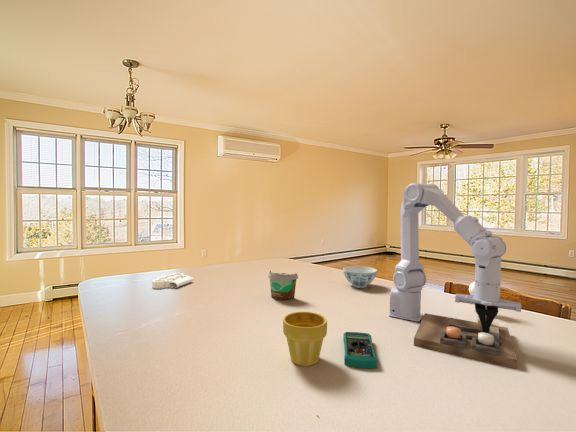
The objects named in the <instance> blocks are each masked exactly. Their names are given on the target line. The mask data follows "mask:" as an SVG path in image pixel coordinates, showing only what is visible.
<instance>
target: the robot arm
mask: <svg viewBox="0 0 576 432" xmlns="http://www.w3.org/2000/svg"><path fill="white" fill-rule="evenodd" d="M428 206H434V207H435V208H436V209H437V210H438V211H440V213H442V214H443V215H444V216H445V217H446V218H448V219H449V220H450V221H451V222H452V223H453V225H454V226H453V230H454V231H455V232H456V233H457V234H458V235H459V236H460V237H461V238H462V239H463V240H464V241H465V242H466V243H467V244H468V245H469V246H470V252H471V253H472V255H473V257H474V264H475V267H474V282H475V285H474V295H470V294H464V293H463V294H461V293H455V296H454V303H458V304H460V303H462V304H469V305H474V304H475V310H476V311H475V313H476V314H477V317H478V316H479V319H480V322H481V325H482V330H483V332H484V333H488V332H489V328H490V326H491V324H492V322H493V321H495V318H496V317H497V316H498V313H499V309H503V310H508V311H515V312H517V313H522V303H521V302H519V301H512V300H509V299H508V300H507V299H503V298H501V281H502V279H501V278H502V257H503V256H504V255H505V254H506V251H507V244H506V243H505V241H504V240H503V238H502V237H500V236H497V235H493V232H492V231H491V230H487V228H485V227H484V226H483V225H482V224H481V223H479V221H480V220H479V218H478V217H476V216H474V217H473V216H472V215H465V214H463V212H461V210H460V209H459V208H458V207H457V206H456V205H455V204H454V202H452V200H450V199H449V197H448V196H446V194H445V193H444V191H443V189H441V188H439V186H437V185H436V184H434V183H419V182H411V183H409V184H408V185H407V186H406V187H405V188H404V189H403V190H402V202H401V205H400V211H399V213H400V216H399V217H400V261H399V262H398V263H397V264H396V265H395V267H394V273H393V276H392V282H393V284H394V287H391V290H390V295H389V315H388V316H389V317H392V318H398V319H402V320H408V321H413V322H420V323H421V321H422V319H423V317H424V313H423V312H421V307H422V306H421V303H422V302H421V301H422V290H423V287H424V286H425V285H426V284H427V275H426V273H425V271H424V270H425V269H424V267H425V266H424V265H423V263H422V262H421V261H420V257H419V256H420V254H419V253H420V252H419V249H420V244H419V242H420V241H419V213H420V212H422V211H423V209H424V208H427V207H428Z"/></svg>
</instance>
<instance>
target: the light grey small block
mask: <svg viewBox="0 0 576 432" xmlns="http://www.w3.org/2000/svg"><path fill="white" fill-rule="evenodd" d="M489 334H491V335H493V336H494V340H499V329H498V328H497V327H492V326H490V328H489Z"/></svg>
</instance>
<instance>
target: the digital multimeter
mask: <svg viewBox="0 0 576 432" xmlns="http://www.w3.org/2000/svg"><path fill="white" fill-rule="evenodd" d="M343 347H344V361H343V362H344V365H345V366H347V367H352V368H356V369H358V368H360V369H376V368H378V358H377V356H376V353H375V349H374V345H373V339H372V335H371V334H370V333H367V332H356V331H355V332H354V331H345V332H344V333H343Z"/></svg>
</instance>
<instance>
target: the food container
mask: <svg viewBox="0 0 576 432" xmlns="http://www.w3.org/2000/svg"><path fill="white" fill-rule="evenodd" d="M268 272H269V273H268V276H267V277H268V279H269V285H270V295H271V297H270V298H272V299H273V300H275V301H290V300H293V299H295V294H296V286H297V279H299V276H298V273H297V272H296V273H291V274H288V273H285V272H272V270H269V271H268Z"/></svg>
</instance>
